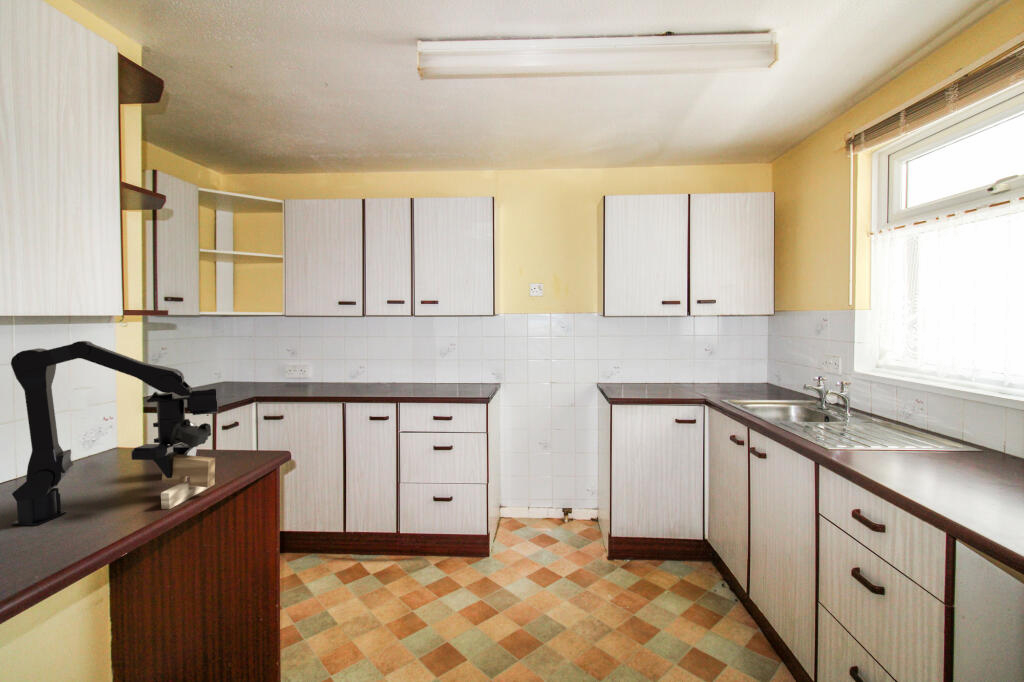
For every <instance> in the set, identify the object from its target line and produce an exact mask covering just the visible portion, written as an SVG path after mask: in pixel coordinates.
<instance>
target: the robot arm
mask: <svg viewBox="0 0 1024 682" xmlns="http://www.w3.org/2000/svg"><path fill="white" fill-rule="evenodd" d="M77 359H81V360H84V361H88V362H91V363H93V364H97V365H100V366H102V367H105V368H108V369H111V370H113V371H117V372H119V373H121V374H124V375H125V374H126V375H128V376H129V377H134V378H137V379H138V380H140V381H142V382H143V383H145V384H146V385H147V386H149V387H151V388H154V389H155V390H157V391H154V392H153V393H152V395H151V396H150V397H148V398H147V399H146V402H147V403H156V417H157V419H156V420H157V421H156V422H153V423H152V427H153V428H157V437H156V438H153V443H145V444H143V445H139V446H136V447H134V448H132V450H131V453H130V455H131V460H132V461H134V460H135V461H153V462H154V463H155V465H157V467H158V468H159V469H160V471H161V472H163V473H164V475H165V476H166V477H167V478H172V473H173V458H174V457H175V456H176V455H177V454H180V455H187V454H188V452H189V451H190V450H191V449H192V448H194V447H197V448H198V447H199V445H204V444H206V442H207V440H208V439H209V437H211V436H212V432H211V431H212V427H211V426H212V425H211V424H209V423H206V422H204V423H201V424H200V425H199V426H198V425H196V426H191V424H190V423H191V420H190V419H189V418H186V415H185V414H186V411H185V400H186V409H187V413H190V414H191V413H192V416H198V415H209V414H210V415H211V414H218V413H219V400H218V399H219V398H217V397H218V396H217V395H218V394H217V388H216V387H211V388H210V387H209V388H205V389H194V388H192V386H191V385H189V384H188V383H187V381H185V376H184V374H183V372H182V371H181V370H179V369H177V368H173V367H168V366H162V365H156V364H151V363H147V362H143V361H141V360H138V359H134V358H133V357H129V356H127V355H124V354H121V353H119V352H115V351H113V350H111V349H107V348H104V347H102V346H101V345H100V346H99V345H97V344H94V343H93V342H92V341H89V340H79V341H78V340H77V341H75V342H73V343H71V344H67V345H62V346H59V347H54V348H50V349H45V348H40V347H39V348H34V349H32V348H31V349H26V350H22V351H19V352H18V353H16V354H15V355H14V356H12V357H11V359H10V360H11V361H10V366H11V369H12V371H13V373H14V376H15V379H16V380H17V382H18V383H19V384H20V386H21V387H22V389H23V391H24V397H25V404H26V414H27V422H28V429H29V437H30V443H31V452H30V453H31V454H30V457H29V460H28V463H27V469H26V480H25V482H24V483H22V484H21V485H20V486H19V487H18V488H17V489H16V490H14V491H13V492H12V494H11V495H12V497H13V499H14V500H15V502H16V509H17V510H16V513H17V515H16V516H17V520H15V521H11V522H10V523H11V525H12V526H40V525H42V524H44V523H47V522H49V521H51V520H53V519H55V518H59V517H60V516H62V515H65V514H67V510H62V504H61V501H62V500H61V493H59V491H60V490H59V487H57V486H58V485H59V483H60V482H61V481H62V480H63V479H64V478H65V477H66V476H67V475H68V474H69V472H70V469H71V468H72V467H73V466H74V463H73V462H72V459H71V457H72V450H71V448H70V449H67V450H63V448H62V446H61V445H60V444H59V438H58V431H57V430H58V429H57V421H56V420H57V419H56V412H55V405H54V396H53V390H52V387H53V386H52V385H53V381H54V379H55V375H56V370H57V364H61V363H66V362H70V361H73V360H77ZM158 391H160V392H161V393H162V394H160V393H159V392H158ZM176 395H177V396H176ZM169 444H170V445H169Z"/></svg>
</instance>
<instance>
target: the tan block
mask: <svg viewBox="0 0 1024 682" xmlns="http://www.w3.org/2000/svg"><path fill="white" fill-rule="evenodd" d="M215 470H216V457H209V456H200V455H199V456H198V455H196V456H190V455H180V454H177V455H176V456H175V457H174V458H173V473H172V478H167V477H166V476H165V475H164V473H163V472H162V471H161V472H162V473H161V474H162V476H161V483H162V484H169V485H178V484H180V483H187V481H188V480H187V477H188V478H189V487H190V486H198V487H209V486H211V485H213V484H214V478H215V475H216V474H215ZM214 485H215V484H214ZM214 485H213V486H214ZM211 487H212V486H211ZM209 488H210V487H209Z"/></svg>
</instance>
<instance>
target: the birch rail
mask: <svg viewBox="0 0 1024 682" xmlns="http://www.w3.org/2000/svg"><path fill="white" fill-rule="evenodd" d="M215 480H216V479H215V477H214V484H213V485H211V486H209V487H198V486H190V485H189V482H184V483H180V484H175V486H173V487H170V488H168V489H166V490H164V491H162V492H161V493H160V500H161V501H160V503H161V510H170V509H173V508H174V507H175V506H178V505H180V504H181V503H183V502H185V501H187V500H189V499H190V498H193V497H194V496H196V495H197V494H200V493H202V492H204V491H206V490H208V488H211V487H212V486H214V485H216V482H215Z"/></svg>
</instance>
